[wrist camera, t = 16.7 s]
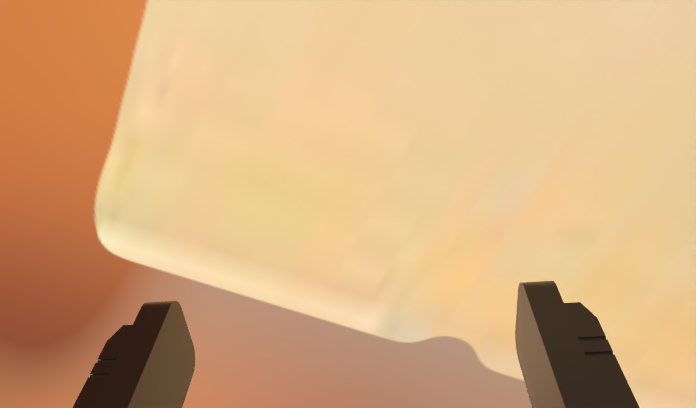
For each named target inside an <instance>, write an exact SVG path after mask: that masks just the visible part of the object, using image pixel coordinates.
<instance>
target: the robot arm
mask: <svg viewBox="0 0 696 408" xmlns="http://www.w3.org/2000/svg"><path fill="white" fill-rule="evenodd" d="M515 338H516V349H517V355H518V359H519V363H520V366H521V370H522V373H523V377H524V380H525V384H526V387H527V391H528V394H529V398H530V401H531V405H532V408H639V406H638V404H637V402H636V399H635V397H634V395H633V393H632V391H631V389H630V387H629V385H628V383H627V380H626V378H625V376H624V374H623V372H622V370H621V368H620V366H619V363H618V361H617V359H616V357H615V355H613V351H612V349H611V346H610V344H609V342H608V340H606V336H605V334H604V332H603V330H602V327H601V325H600V323H599V321H598V319H597V317H595V316H594V315H593V314H592V313H591V312H590V311H589V310H588V309H587V308H586V307H584V306H583V305H582V304H581V303H580V302H578V303H563V300H562V298H561V296H560V293H559V291H558V288H557V286H556V284H555V282H554V281H544V282H526V283H520V284H519V288H518V301H517V315H516V330H515ZM194 366H195V351H194V346H193V343H192V340H191V336H190V333H189V330H188V327H187V324H186V321H185V318H184V315H183V312H182V309H181V306H180V304H179V303H178V302H177V301H165V302H148V303H144V304H143V306H142V307H141V309H140V311H139V313H138V315H137V317H136V320H135V322H134V324H133V325H124V326H122V327H121V328H120V329H119V330H118V331H117V332H116V333H115V334H114V335H113V336H112V337H111V338H110V339H109V340H108V341H107V342H106V344H105V346H104V348H103V350H102V352H101V354H100V356H99V358H98V363H96V364H95V365H94V367H93V369H92V371H91V373H90V378H88V379H87V381H86V383H85V385H84V387H83V389H82V391H81V393H80V394H79V396H78V398H77V400H76V402H75V404H74V406H73V408H182V406H183V403H184V400H185V397H186V394H187V391H188V388H189V385H190V382H191V378H192V375H193V372H194Z"/></svg>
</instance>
